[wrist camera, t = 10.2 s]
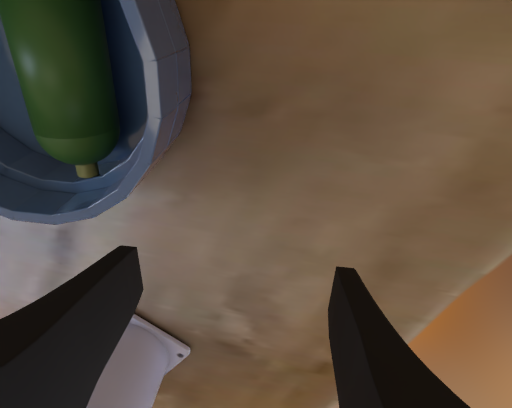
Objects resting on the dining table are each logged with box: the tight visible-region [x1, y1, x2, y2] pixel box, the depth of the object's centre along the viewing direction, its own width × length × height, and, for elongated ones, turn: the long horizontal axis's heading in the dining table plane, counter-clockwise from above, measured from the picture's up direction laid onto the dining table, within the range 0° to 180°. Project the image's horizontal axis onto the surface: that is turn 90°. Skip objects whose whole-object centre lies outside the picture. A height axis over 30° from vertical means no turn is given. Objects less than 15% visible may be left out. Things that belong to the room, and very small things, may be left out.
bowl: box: [0, 0, 191, 225], centre depth 17 cm, size 14×14×5 cm
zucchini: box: [0, 0, 120, 178], centre depth 17 cm, size 10×4×4 cm
